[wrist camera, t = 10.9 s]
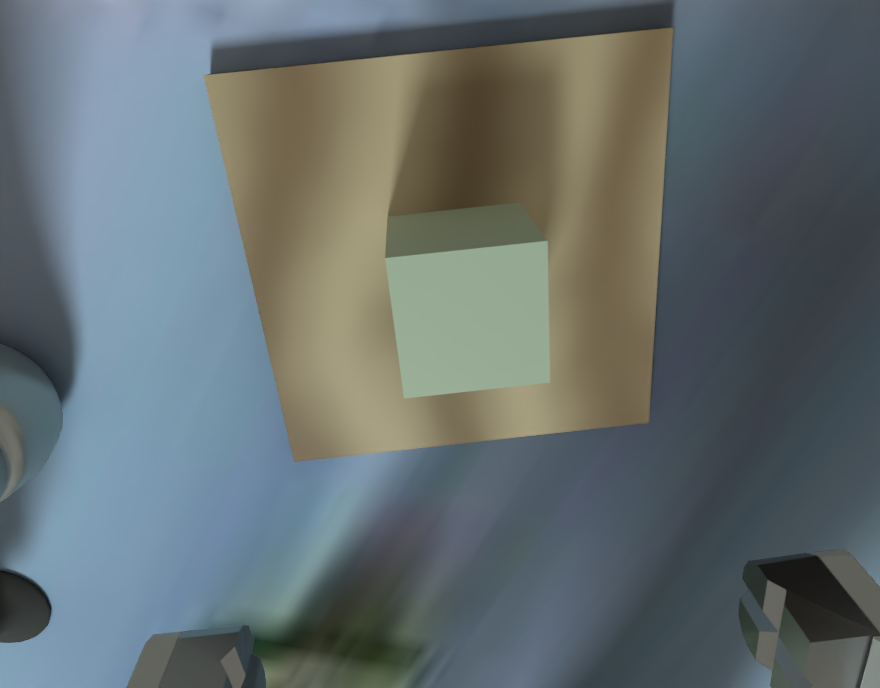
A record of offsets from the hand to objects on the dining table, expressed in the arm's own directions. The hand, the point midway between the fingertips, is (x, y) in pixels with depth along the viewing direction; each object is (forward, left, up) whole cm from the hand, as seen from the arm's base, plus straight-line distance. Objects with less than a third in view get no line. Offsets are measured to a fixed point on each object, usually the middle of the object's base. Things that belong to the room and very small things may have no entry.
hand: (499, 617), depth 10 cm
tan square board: (0, -1, -17) cm, 17 cm away
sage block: (0, -1, -16) cm, 16 cm away
